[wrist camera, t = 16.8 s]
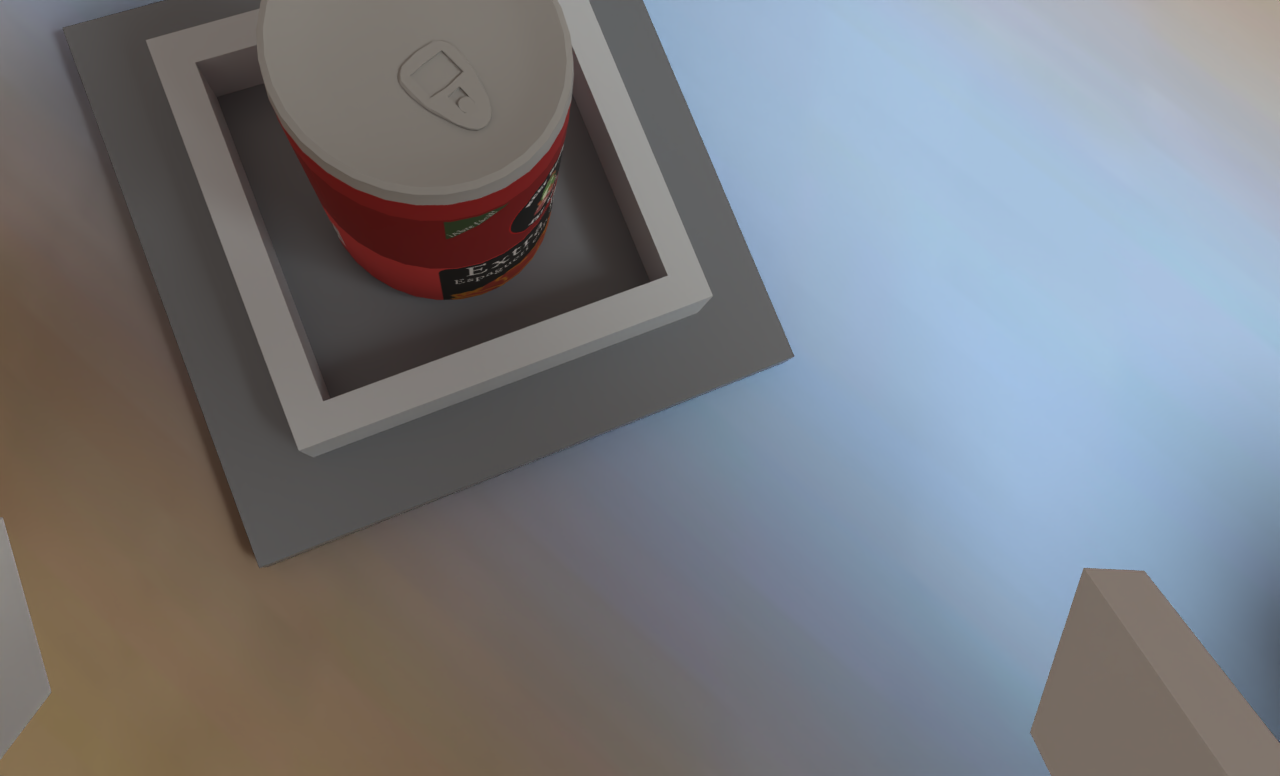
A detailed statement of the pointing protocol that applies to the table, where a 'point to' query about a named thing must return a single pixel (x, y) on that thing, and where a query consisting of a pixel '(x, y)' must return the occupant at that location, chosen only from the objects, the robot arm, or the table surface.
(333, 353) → the end holder
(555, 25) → the canned food
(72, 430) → the table surface
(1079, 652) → the robot arm
